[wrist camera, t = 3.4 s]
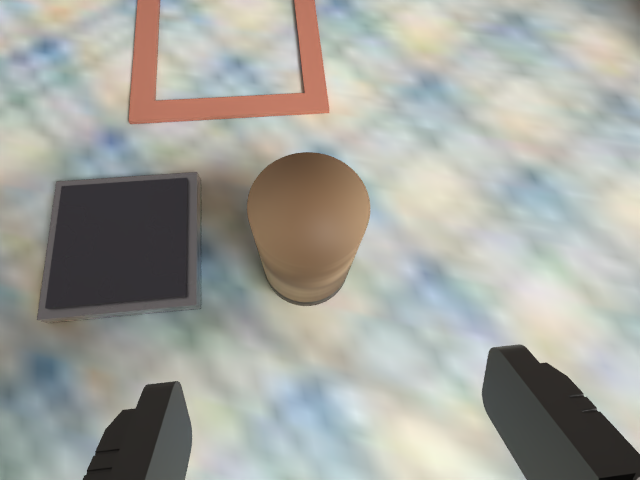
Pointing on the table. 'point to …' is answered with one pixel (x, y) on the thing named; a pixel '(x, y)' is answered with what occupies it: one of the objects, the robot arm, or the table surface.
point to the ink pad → (123, 248)
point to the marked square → (223, 107)
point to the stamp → (307, 224)
